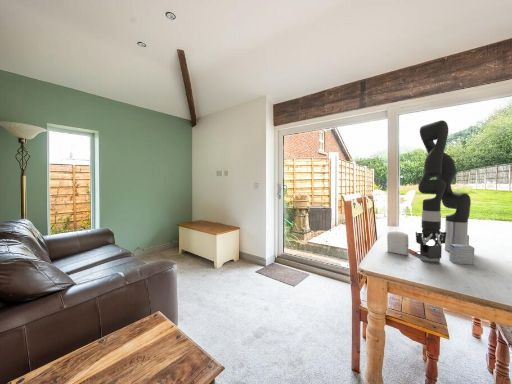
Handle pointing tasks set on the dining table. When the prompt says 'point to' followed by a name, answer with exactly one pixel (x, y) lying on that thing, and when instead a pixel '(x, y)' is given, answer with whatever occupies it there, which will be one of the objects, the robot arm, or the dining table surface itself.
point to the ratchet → (423, 258)
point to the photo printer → (397, 242)
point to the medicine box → (461, 254)
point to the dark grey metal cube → (432, 250)
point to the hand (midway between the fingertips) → (430, 251)
